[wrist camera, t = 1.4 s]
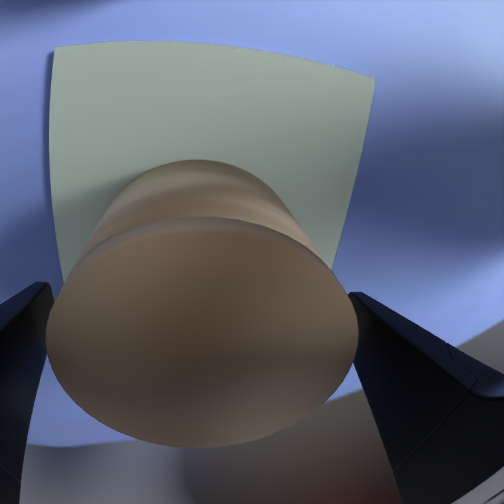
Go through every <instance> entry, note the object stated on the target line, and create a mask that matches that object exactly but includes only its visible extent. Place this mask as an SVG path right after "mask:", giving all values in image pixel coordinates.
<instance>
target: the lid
mask: <svg viewBox="0 0 504 504" xmlns="http://www.w3.org/2000/svg"><path fill="white" fill-rule="evenodd" d="M358 333H359V331H358V323H357V317H356V313H355V310H354V307H353V305H352V302H351V301H350V299H349V297H348V295H347V294H346V292H345V290H344V288H343V287H342V286H341V284H340V283H339V281H338V280H337V278H336V277H335V275H334V274H333V272H332V271H331V269H330V268H329V266H328V265H327V263H326V262H325V261H324V259H323V258H322V256H321V255H320V253H319V252H318V250H317V249H316V248H315V246H314V245H313V243H312V242H311V240H310V239H309V238H308V236H307V235H306V233H305V232H304V231H303V229H302V228H301V226H300V225H299V224H298V222H297V221H296V219H295V218H294V217H293V215H292V214H291V212H290V211H289V210H288V208H287V207H286V206H285V204H284V203H283V202H282V200H281V199H280V198H279V196H278V195H277V194H276V193H275V192H274V191H273V190H272V189H271V188H270V187H269V186H268V185H267V184H266V183H264V182H263V181H262V180H261V179H259V178H258V177H256V176H254V175H253V174H251V173H250V172H248V171H245V170H243V169H241V168H239V167H236V166H234V165H230V164H227V163H223V162H218V161H211V160H183V161H176V162H172V163H168V164H164V165H161V166H158V167H156V168H154V169H151V170H149V171H147V172H145V173H143V174H142V175H140V176H138V177H137V178H135V179H134V180H132V181H131V182H130V183H129V184H128V185H126V186H125V187H124V188H123V189H122V190H121V191H120V192H119V193H118V195H117V196H116V197H115V198H114V199H113V201H112V202H111V204H110V205H109V207H108V208H107V210H106V212H105V213H104V215H103V216H102V218H101V219H100V221H99V223H98V224H97V226H96V228H95V229H94V231H93V233H92V234H91V236H90V238H89V239H88V241H87V243H86V244H85V246H84V248H83V250H82V251H81V253H80V255H79V257H78V258H77V260H76V262H75V264H74V266H73V268H72V269H71V271H70V273H69V275H68V277H67V279H66V281H65V283H64V285H63V286H62V288H61V290H60V292H59V294H58V296H57V298H56V300H55V302H54V304H53V307H52V309H51V311H50V314H49V318H48V322H47V326H46V347H47V354H48V358H49V361H50V364H51V367H52V370H53V372H54V374H55V376H56V378H57V380H58V382H59V383H60V384H61V386H62V387H63V389H64V390H65V392H66V393H67V394H68V395H69V396H70V397H71V398H72V400H73V401H74V402H75V403H76V404H77V405H78V406H79V407H81V408H82V409H83V410H84V411H85V412H86V413H88V414H89V415H91V416H92V417H93V418H95V419H96V420H98V421H99V422H101V423H103V424H104V425H106V426H108V427H110V428H112V429H114V430H116V431H118V432H120V433H123V434H125V435H128V436H130V437H133V438H136V439H139V440H143V441H147V442H151V443H155V444H160V445H166V446H173V447H184V448H213V447H223V446H231V445H236V444H241V443H245V442H249V441H253V440H257V439H260V438H263V437H266V436H269V435H271V434H274V433H277V432H279V431H281V430H283V429H286V428H288V427H290V426H291V425H293V424H295V423H297V422H299V421H300V420H302V419H303V418H305V417H306V416H308V415H309V414H311V413H312V412H313V411H315V410H316V409H317V408H319V407H320V406H321V405H322V404H323V403H324V402H325V401H326V400H327V399H328V398H329V397H330V396H331V395H332V394H333V393H334V392H335V391H336V390H337V388H338V387H339V386H340V385H341V383H342V382H343V380H344V379H345V377H346V375H347V374H348V372H349V370H350V368H351V365H352V363H353V361H354V358H355V354H356V350H357V346H358Z"/></svg>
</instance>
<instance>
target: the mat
mask: <svg viewBox="0 0 504 504" xmlns="http://www.w3.org/2000/svg"><path fill="white" fill-rule="evenodd" d="M375 82H376V78H373V77H370V76H366V75H363V74H360V73H357V72H353V71H350V70H347V69H343V68H340V67H336V66H332V65H328V64H324V63H320V62H316V61H312V60H308V59H303V58H299V57H294V56H289V55H284V54H279V53H274V52H268V51H262V50H256V49H249V48H242V47H234V46H226V45H217V44H206V43H193V42H174V41H120V42H101V43H88V44H78V45H69V46H61V47H55V51H54V60H53V69H52V79H51V92H50V112H49V162H50V183H51V196H52V208H53V217H54V226H55V234H56V241H57V248H58V254H59V260H60V266H61V272H62V277H63V282H64V283H65V281H66V279H67V277H68V275H69V273H70V271H71V269H72V268H73V266H74V264H75V262H76V260H77V258H78V257H79V255H80V253H81V251H82V250H83V248H84V246H85V244H86V243H87V241H88V239H89V238H90V236H91V234H92V233H93V231H94V229H95V228H96V226H97V224H98V223H99V221H100V219H101V218H102V216H103V215H104V213H105V212H106V210H107V208H108V207H109V205H110V204H111V202H112V201H113V199H114V198H115V197H116V196H117V195H118V193H119V192H120V191H121V190H122V189H123V188H124V187H125V186H126V185H128V184H129V183H130V182H131V181H132V180H134V179H135V178H137V177H138V176H140V175H142V174H143V173H145V172H147V171H149V170H151V169H154V168H156V167H158V166H161V165H164V164H168V163H172V162H176V161H183V160H211V161H218V162H223V163H227V164H230V165H234V166H236V167H239V168H241V169H243V170H245V171H248V172H250V173H251V174H253V175H254V176H256V177H258V178H259V179H261V180H262V181H263V182H264V183H266V184H267V185H268V186H269V187H270V188H271V189H272V190H273V191H274V192H275V193H276V194H277V195H278V196H279V198H280V199H281V200H282V202H283V203H284V204H285V206H286V207H287V208H288V210H289V211H290V212H291V214H292V215H293V217H294V218H295V219H296V221H297V222H298V224H299V225H300V226H301V228H302V229H303V231H304V232H305V233H306V235H307V236H308V238H309V239H310V240H311V242H312V243H313V245H314V246H315V248H316V249H317V250H318V252H319V253H320V255H321V256H322V258H323V259H324V261H325V262H326V263H327V265H328V266H329V268H330V269H332V265H333V262H334V259H335V255H336V252H337V248H338V245H339V241H340V238H341V234H342V230H343V227H344V223H345V219H346V215H347V211H348V208H349V204H350V200H351V196H352V192H353V188H354V184H355V179H356V175H357V171H358V167H359V162H360V158H361V153H362V149H363V144H364V140H365V135H366V130H367V125H368V120H369V115H370V110H371V105H372V99H373V94H374V88H375Z"/></svg>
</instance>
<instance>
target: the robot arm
mask: <svg viewBox="0 0 504 504" xmlns="http://www.w3.org/2000/svg"><path fill="white" fill-rule="evenodd" d="M348 297H349V299H350V301H351V302H352V305H353V307H354V310H355V313H356V317H357V323H358V331H359V333H358V346H357V350H356V354H355V358H354V361H353V364H354V366H355V369H356V371H357V374H358V377H359V379H360V382H361V384H362V387H363V390H364V392H365V395H366V398H367V401H368V403H369V406H370V409H371V411H372V414H373V417H374V419H375V422H376V425H377V428H378V431H379V434H380V436H381V439H382V442H383V445H384V448H385V451H386V454H387V457H388V460H389V463H390V466H391V469H392V471H393V476H394V479H395V482H396V485H397V488H398V491H399V494H400V497H401V501H402V504H504V374H503V373H501V372H499V371H497V370H495V369H493V368H491V367H489V366H487V365H486V364H484V363H482V362H480V361H478V360H476V359H474V358H473V357H471V356H469V355H467V354H465V353H464V352H462V351H460V350H459V349H457V348H455V347H454V346H452V345H450V344H449V343H446V342H445V341H444V340H442V339H440V338H439V337H437V336H435V335H434V334H432V333H430V332H429V331H427V330H425V329H424V328H422V327H420V326H419V325H417V324H415V323H414V322H412V321H410V320H408V319H407V318H405V317H403V316H402V315H400V314H398V313H397V312H395V311H393V310H392V309H390V308H388V307H387V306H385V305H383V304H381V303H380V302H378V301H376V300H375V299H373V298H371V297H369V296H368V295H366V294H364V293H363V292H350V293H349V294H348ZM53 304H54V298H53V294H52V290H51V286H50V284H49V283H48V282H35V283H33V284H32V285H30V286H29V287H27V288H25V289H24V290H22V291H21V292H19V293H18V294H16V295H14V296H13V297H11V298H10V299H8V300H7V301H5V302H4V303H2V304H1V305H0V504H19V500H20V488H21V476H22V468H23V461H24V454H25V447H26V442H27V436H28V430H29V425H30V420H31V415H32V411H33V406H34V402H35V398H36V393H37V389H38V385H39V382H40V378H41V374H42V370H43V367H44V363H45V359H46V356H47V347H46V326H47V322H48V318H49V314H50V311H51V309H52V307H53Z"/></svg>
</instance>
